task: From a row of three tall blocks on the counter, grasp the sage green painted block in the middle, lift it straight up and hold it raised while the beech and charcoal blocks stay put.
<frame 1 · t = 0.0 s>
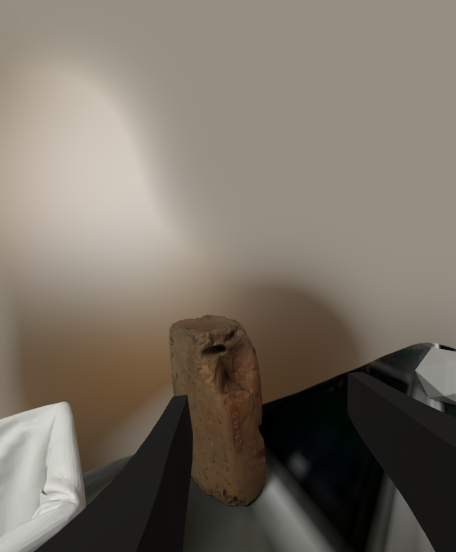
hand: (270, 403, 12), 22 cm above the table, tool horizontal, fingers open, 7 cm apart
die: (449, 400, 43), on the table
brown rough elongated lump: (226, 476, 33), on the table
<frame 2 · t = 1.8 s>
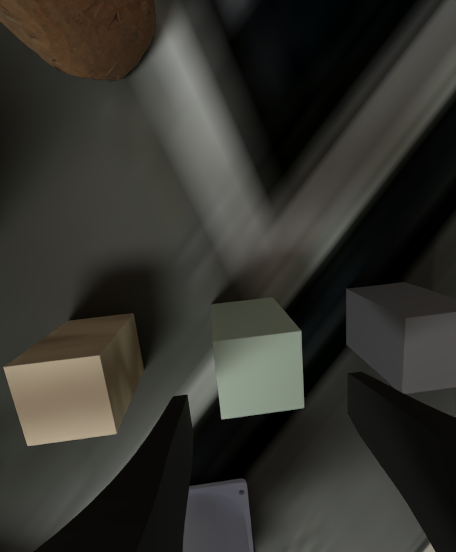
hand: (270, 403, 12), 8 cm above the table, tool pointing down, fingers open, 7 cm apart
beech block: (107, 346, 19), on the table
charcoal block: (374, 313, 20), on the table
sage block: (244, 329, 20), on the table
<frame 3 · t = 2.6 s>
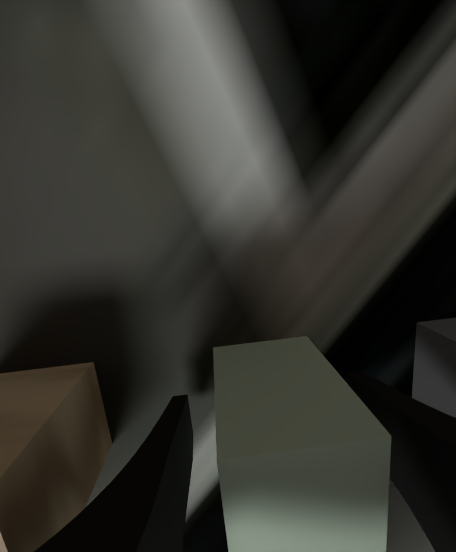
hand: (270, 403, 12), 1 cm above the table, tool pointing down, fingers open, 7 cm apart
beech block: (55, 410, 12), on the table
charcoal block: (455, 358, 13), on the table
sage block: (263, 383, 13), on the table
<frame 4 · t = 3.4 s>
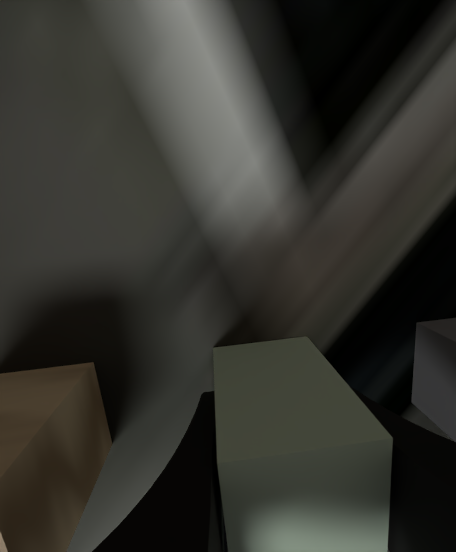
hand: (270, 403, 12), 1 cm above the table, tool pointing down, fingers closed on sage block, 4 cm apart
beech block: (55, 410, 12), on the table
charcoal block: (455, 358, 14), on the table
sage block: (263, 383, 13), on the table, touching gripper
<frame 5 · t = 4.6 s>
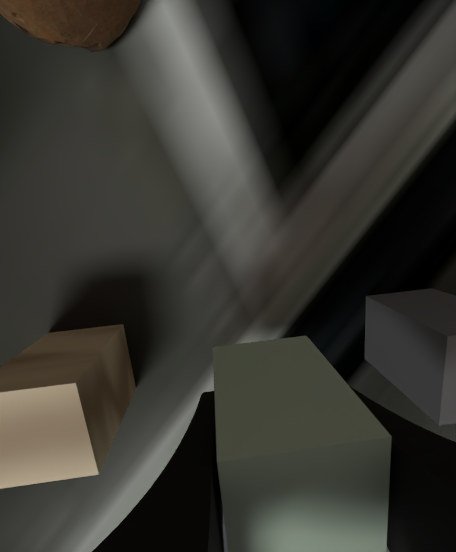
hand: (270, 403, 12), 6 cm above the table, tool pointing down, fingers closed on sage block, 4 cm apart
beech block: (93, 361, 17), on the table
charcoal block: (397, 324, 18), on the table
sage block: (263, 383, 13), point 4 cm above the table, touching gripper
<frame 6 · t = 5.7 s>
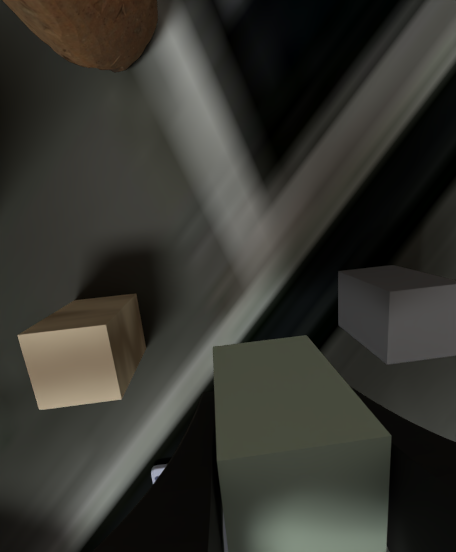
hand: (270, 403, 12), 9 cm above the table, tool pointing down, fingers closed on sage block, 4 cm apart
beech block: (111, 324, 20), on the table
charcoal block: (365, 295, 21), on the table
sage block: (263, 382, 13), point 8 cm above the table, touching gripper
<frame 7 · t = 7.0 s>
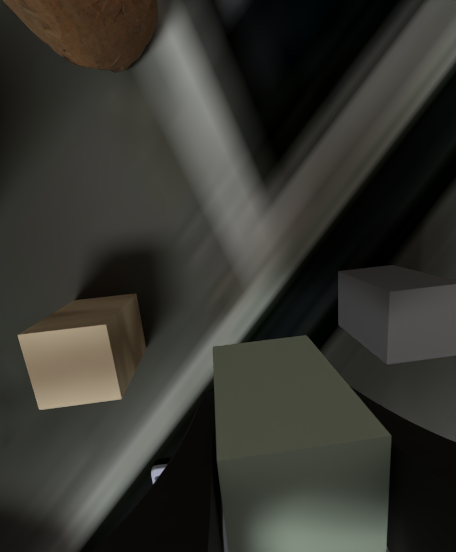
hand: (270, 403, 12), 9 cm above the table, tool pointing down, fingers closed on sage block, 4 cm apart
beech block: (111, 324, 20), on the table
charcoal block: (365, 295, 21), on the table
sage block: (263, 382, 13), point 8 cm above the table, touching gripper
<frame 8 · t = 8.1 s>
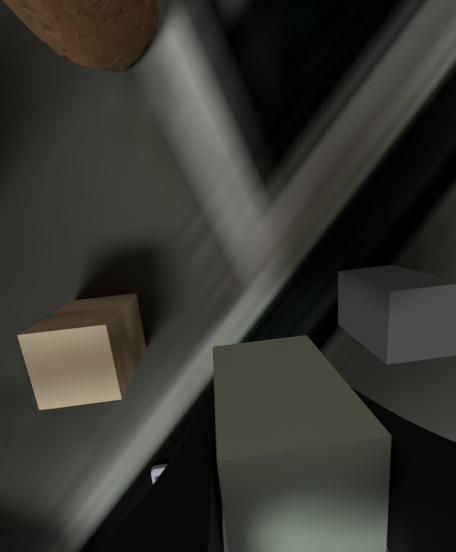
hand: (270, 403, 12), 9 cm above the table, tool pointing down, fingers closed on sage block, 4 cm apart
beech block: (111, 324, 20), on the table
charcoal block: (365, 295, 21), on the table
sage block: (263, 382, 13), point 8 cm above the table, touching gripper
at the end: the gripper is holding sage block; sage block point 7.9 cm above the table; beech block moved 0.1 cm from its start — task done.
